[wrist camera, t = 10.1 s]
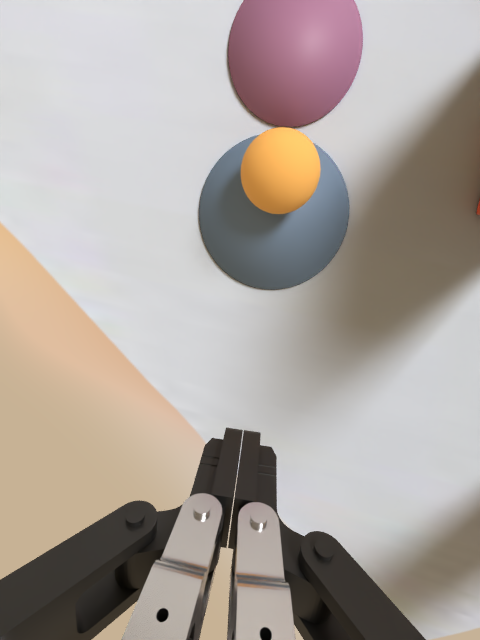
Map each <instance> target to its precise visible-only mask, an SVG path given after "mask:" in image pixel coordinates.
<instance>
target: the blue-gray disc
mask: <svg viewBox="0 0 480 640" xmlns="http://www.w3.org/2000/svg"><path fill="white" fill-rule="evenodd" d="M257 136H259V135H257ZM257 136H254V137H251V138H248V139H246V140H244V141H242V142H240V143H239V144H237V145H235V146H234V147H232V148H231V149H230V150H229V151H227V152H226V153H225V154H224V155H223V156H222V157H221V158H220V159H219V160H218V162H217V163H216V164H215V166H214V167H213V169H212V170H211V172H210V174H209V176H208V177H207V179H206V182H205V185H204V187H203V191H202V194H201V199H200V207H199V220H200V228H201V232H202V236H203V239H204V242H205V245H206V247H207V249H208V251H209V253H210V254H211V256H212V257H213V259H214V260H215V262H216V263H217V264H218V265H219V266H220V267H221V268H222V270H224V271H225V272H226V273H227V274H228V275H230V276H231V277H233V278H234V279H236V280H237V281H239V282H241V283H244V284H246V285H249V286H252V287H256V288H261V289H283V288H288V287H292V286H295V285H298V284H301V283H303V282H305V281H307V280H309V279H310V278H312V277H313V276H315V275H316V274H318V273H319V272H320V271H321V270H322V269H324V268H325V266H326V265H327V264H328V263H329V262H330V261H331V260H332V258H333V257H334V256H335V254H336V253H337V251H338V249H339V247H340V246H341V243H342V241H343V239H344V236H345V233H346V229H347V225H348V218H349V199H348V193H347V189H346V185H345V182H344V179H343V177H342V174H341V173H340V171H339V169H338V167H337V166H336V164H335V163H334V162H333V160H332V159H331V158H330V156H329V155H327V154H326V153H325V152H324V151H323V150H322V149H321V148H320V147H318V146H317V145H315V144H314V143H313V144H314V146H315V148H316V150H317V152H318V155H319V159H320V168H321V170H320V178H319V182H318V185H317V188H316V190H315V192H314V193H313V195H312V196H311V198H310V199H309V200H308V201H307V202H306V203H305V204H304V205H303V206H301V207H300V208H298V209H297V210H295V211H292V212H290V213H286V214H272V213H268V212H265V211H263V210H261V209H259V208H258V207H256V206H255V205H254V204H253V203H252V202H251V201H250V200H249V198H248V197H247V195H246V193H245V191H244V189H243V186H242V182H241V164H242V159H243V157H244V154H245V152H246V150H247V148H248V147H249V145H250V144H251V143H252V141H253V140H254V139H255V138H256V137H257Z"/></svg>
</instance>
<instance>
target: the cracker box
mask: <svg viewBox="0 0 480 640" xmlns="http://www.w3.org/2000/svg"><path fill="white" fill-rule="evenodd" d="M476 214H477V215H480V200H479V204H478V207H477V212H476Z"/></svg>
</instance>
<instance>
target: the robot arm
mask: <svg viewBox="0 0 480 640" xmlns="http://www.w3.org/2000/svg"><path fill="white" fill-rule="evenodd" d="M242 431H243V430H239V429H232V428H226V430H225V435H224V439H223V440H222V439H215V438H212V439H211V440H210V441H209V442H208V443H207V444H206V445H205V447H204V451H203V454H202V457H201V461H200V465H199V468H198V471H197V474H196V478H195V481H194V485H193V488H192V491H191V494H190V497H189V498H188V499H187V500H186V501H185V502H184V503H183V505H181V506H180V507H178V508H176V509H172V510H167V511H159V512H157V511H156V509H155V508H154V506H153V505H151V504H150V503H148V502H145V501H133V502H130V503H127V504H125V505H124V506H122V507H120V508H119V509H117V510H115V511H114V512H112V513H111V514H109V515H107V516H105V517H104V518H102V519H100V520H99V521H97V522H95V523H94V524H92V525H90V526H89V527H87V528H85V529H84V530H82V531H80V532H79V533H77V534H75V535H74V536H72V537H71V538H69V539H67V540H66V541H64V542H62V543H61V544H59V545H57V546H56V547H54V548H52V549H51V550H49V551H47V552H46V553H44V554H43V555H41V556H39V557H37V558H36V559H34V560H32V561H31V562H29V563H27V564H26V565H24V566H22V567H21V568H19V569H17V570H16V571H14V572H13V573H11V574H9V575H8V576H6V577H4V578H3V579H1V580H0V640H91V639H93V638H94V637H95V636H96V635H97V634H99V633H100V632H101V631H102V630H103V629H104V628H106V627H107V626H108V625H109V624H110V623H112V622H113V621H114V620H115V619H116V618H117V617H119V616H120V615H121V614H122V613H123V612H125V611H126V610H127V609H128V608H129V607H130V606H132V605H133V604H134V603H135V602H136V601H137V604H136V606H135V609H134V611H133V613H132V616H131V618H130V621H129V623H128V625H127V628H126V630H125V633H124V635H123V637H122V640H199V638H200V633H201V628H202V624H203V620H204V616H205V612H206V608H207V603H208V599H209V595H210V591H211V586H212V583H213V578H214V574H215V569H216V565H217V563H218V560H219V553H220V548H221V547H225V548H226V546H227V539H228V532H229V525H230V518H231V511H232V504H233V497H234V490H235V483H236V477H237V469H238V462H239V454H240V447H241V439H242ZM228 548H231V549H233V558H232V566H231V574H230V593H229V614H228V632H227V640H295V630H294V625H295V626H296V628H297V629H298V631H299V633H300V634H301V636H302V637H303V639H304V640H426V639H425V638H424V637H423V636H422V635H421V634H420V633H419V632H418V630H417V629H416V628H415V627H414V626H413V625H412V624H411V623H410V621H409V620H408V619H407V618H406V617H405V616H404V615H403V614H402V613H401V611H400V610H399V609H398V608H397V607H396V606H395V605H394V604H393V602H392V601H391V600H390V599H389V598H388V597H387V596H386V595H385V594H384V592H383V591H382V590H381V589H380V588H379V587H378V586H377V585H376V583H375V582H374V581H373V580H372V579H371V578H370V577H369V576H368V575H367V573H366V572H365V571H364V570H363V569H362V568H361V567H360V566H359V564H358V563H357V562H356V561H355V560H354V559H353V558H352V557H351V555H350V554H349V553H348V552H347V551H346V550H345V549H344V548H343V547H342V545H341V544H340V543H339V542H338V541H337V540H336V539H335V538H333V537H332V536H331V535H329V534H327V533H324V532H319V531H314V532H310V533H308V534H307V535H305V537H304V536H302V535H300V534H298V533H296V532H294V531H292V530H291V529H289V528H288V527H287V526H286V525H285V524H284V523H283V522H282V521H281V519H280V518H279V516H278V513H277V496H276V455H275V453H274V451H273V449H272V447H268V446H261V445H260V433H259V432H252V431H246V430H244V434H243V441H242V449H241V456H240V463H239V470H238V477H237V484H236V492H235V500H234V507H233V514H232V522H231V530H230V537H229V546H228Z"/></svg>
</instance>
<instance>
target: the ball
mask: <svg viewBox="0 0 480 640" xmlns="http://www.w3.org/2000/svg"><path fill="white" fill-rule="evenodd" d="M320 170H321V168H320V159H319V155H318V152H317V150H316V148H315V146H314V144H313V143H312V142H311V140H310V139H309V138H308V137H307V136H306V135H304V134H303V133H301V132H300V131H297V130H295V129H292V128H286V127H278V128H273V129H270V130H267V131H265V132H263V133H262V134H260V135H259V136H257V137H256V138H255V139H254V140H253V141H252V143H251V144H250V145H249V147H248V148H247V150H246V152H245V154H244V157H243V159H242V164H241V182H242V186H243V189H244V191H245V193H246V195H247V197H248V198H249V200H250V201H251V202H252V203H253V204H254V205H255V206H256V207H258V208H259V209H261V210H263V211H265V212H268V213H272V214H286V213H290V212H292V211H295V210H297V209H298V208H300V207H301V206H303V205H304V204H305V203H306V202H307V201H308V200H309V199H310V198H311V196H312V195H313V193H314V192H315V190H316V188H317V185H318V182H319V178H320Z"/></svg>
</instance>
